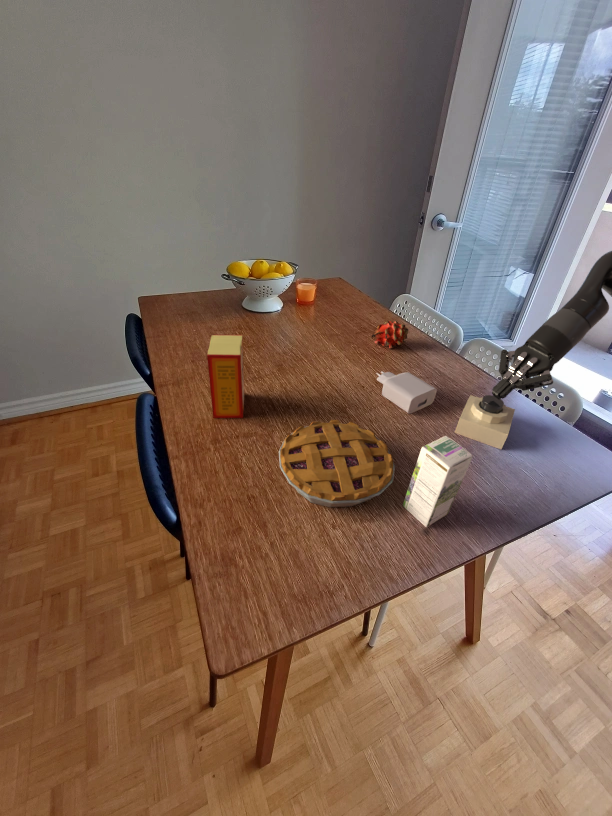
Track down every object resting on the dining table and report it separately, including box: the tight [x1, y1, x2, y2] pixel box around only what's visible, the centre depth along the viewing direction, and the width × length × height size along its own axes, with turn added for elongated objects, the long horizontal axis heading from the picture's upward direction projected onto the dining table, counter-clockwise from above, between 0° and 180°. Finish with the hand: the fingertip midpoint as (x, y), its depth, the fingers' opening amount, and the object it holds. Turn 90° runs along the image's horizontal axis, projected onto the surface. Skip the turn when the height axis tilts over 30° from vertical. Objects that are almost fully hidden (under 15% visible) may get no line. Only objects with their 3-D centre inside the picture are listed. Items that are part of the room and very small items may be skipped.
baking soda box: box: [206, 334, 245, 419], centre depth 87 cm, size 10×6×16 cm
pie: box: [278, 419, 396, 508], centre depth 75 cm, size 22×22×5 cm
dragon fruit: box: [371, 319, 409, 350], centre depth 120 cm, size 8×8×12 cm
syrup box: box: [402, 435, 474, 528], centre depth 66 cm, size 6×6×14 cm
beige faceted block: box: [454, 394, 516, 450], centre depth 89 cm, size 10×11×6 cm
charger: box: [375, 370, 438, 415], centre depth 99 cm, size 5×9×15 cm
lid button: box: [480, 394, 505, 414], centre depth 87 cm, size 4×4×2 cm
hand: (495, 396), depth 85 cm, fingers closed
